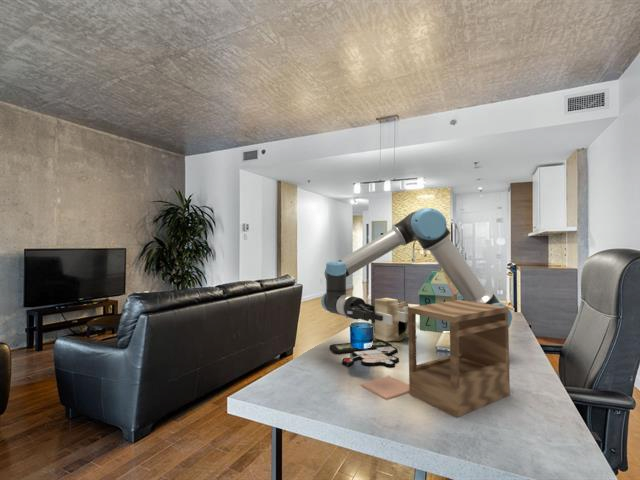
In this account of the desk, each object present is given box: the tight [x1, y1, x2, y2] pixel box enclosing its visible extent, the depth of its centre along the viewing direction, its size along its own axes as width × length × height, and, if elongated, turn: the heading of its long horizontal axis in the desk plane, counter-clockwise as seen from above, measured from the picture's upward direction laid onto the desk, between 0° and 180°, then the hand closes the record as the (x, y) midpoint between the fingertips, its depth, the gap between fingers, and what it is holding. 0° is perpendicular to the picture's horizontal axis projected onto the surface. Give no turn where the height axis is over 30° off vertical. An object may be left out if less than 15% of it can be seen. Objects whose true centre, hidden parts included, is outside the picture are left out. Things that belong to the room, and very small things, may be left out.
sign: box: [329, 339, 400, 369], centre depth 137 cm, size 27×2×30 cm
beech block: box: [374, 297, 399, 342], centre depth 106 cm, size 5×5×12 cm
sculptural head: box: [371, 300, 410, 342], centre depth 163 cm, size 17×21×25 cm
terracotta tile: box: [359, 375, 409, 401], centre depth 106 cm, size 12×12×1 cm
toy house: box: [417, 269, 460, 334], centre depth 178 cm, size 17×16×30 cm
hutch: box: [408, 299, 511, 418], centre depth 101 cm, size 24×16×26 cm, turn 121°
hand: (398, 318), depth 102 cm, fingers closed on beech block, 5 cm apart
